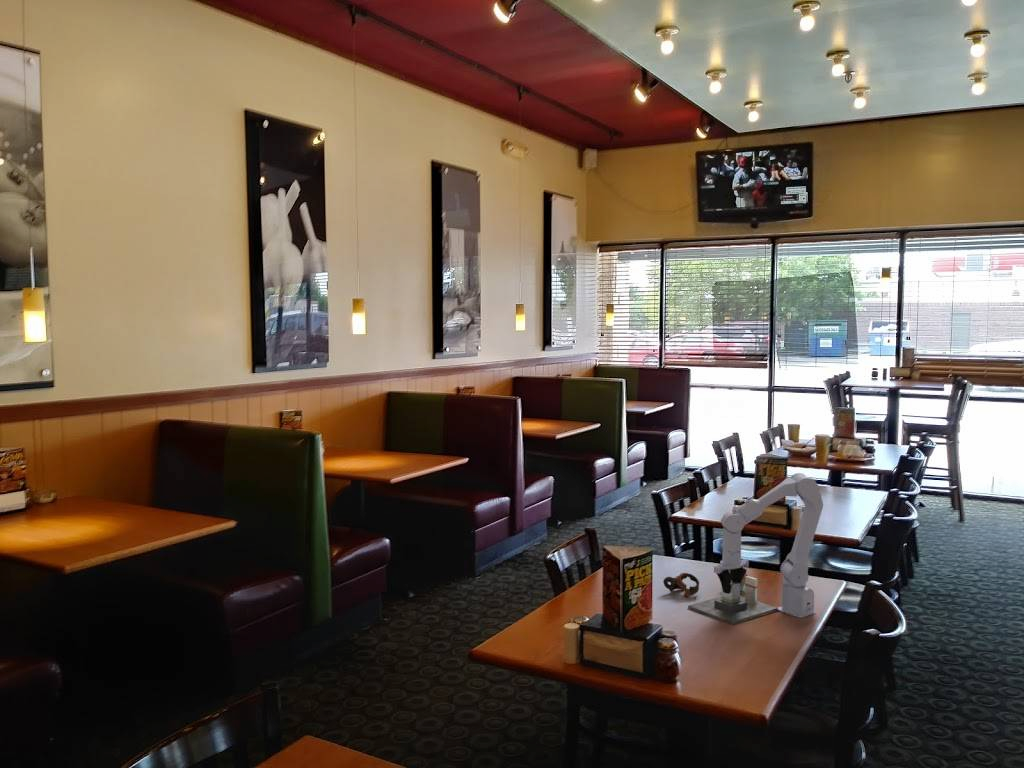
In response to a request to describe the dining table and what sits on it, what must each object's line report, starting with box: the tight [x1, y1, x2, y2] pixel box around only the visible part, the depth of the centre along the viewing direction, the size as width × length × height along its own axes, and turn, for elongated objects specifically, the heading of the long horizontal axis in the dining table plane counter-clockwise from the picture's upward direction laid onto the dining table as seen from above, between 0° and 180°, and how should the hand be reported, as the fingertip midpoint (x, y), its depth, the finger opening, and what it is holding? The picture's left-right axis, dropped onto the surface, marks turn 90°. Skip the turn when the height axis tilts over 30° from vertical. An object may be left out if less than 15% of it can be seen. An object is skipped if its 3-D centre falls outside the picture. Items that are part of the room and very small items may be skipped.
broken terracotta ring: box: [663, 572, 700, 599], centre depth 280 cm, size 12×10×8 cm
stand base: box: [687, 575, 778, 625], centre depth 265 cm, size 18×22×9 cm
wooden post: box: [721, 580, 741, 604], centre depth 264 cm, size 4×4×6 cm
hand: (731, 591), depth 264 cm, fingers closed on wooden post, 4 cm apart
